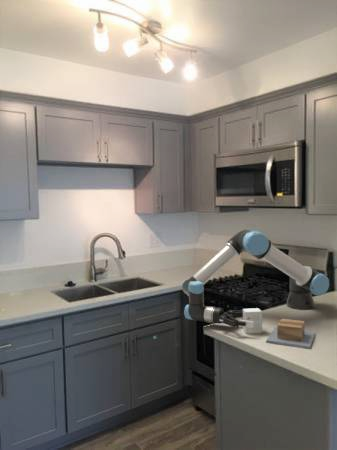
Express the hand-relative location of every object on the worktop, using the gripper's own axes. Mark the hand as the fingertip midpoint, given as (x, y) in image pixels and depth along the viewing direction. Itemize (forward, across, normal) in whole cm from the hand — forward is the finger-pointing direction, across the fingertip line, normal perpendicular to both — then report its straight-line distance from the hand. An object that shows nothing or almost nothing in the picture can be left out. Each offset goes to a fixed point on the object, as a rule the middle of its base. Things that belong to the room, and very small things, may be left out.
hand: (257, 320), depth 177 cm
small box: (-2, 0, -6) cm, 7 cm away
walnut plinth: (+16, +2, -6) cm, 17 cm away
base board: (+16, +2, -6) cm, 17 cm away
